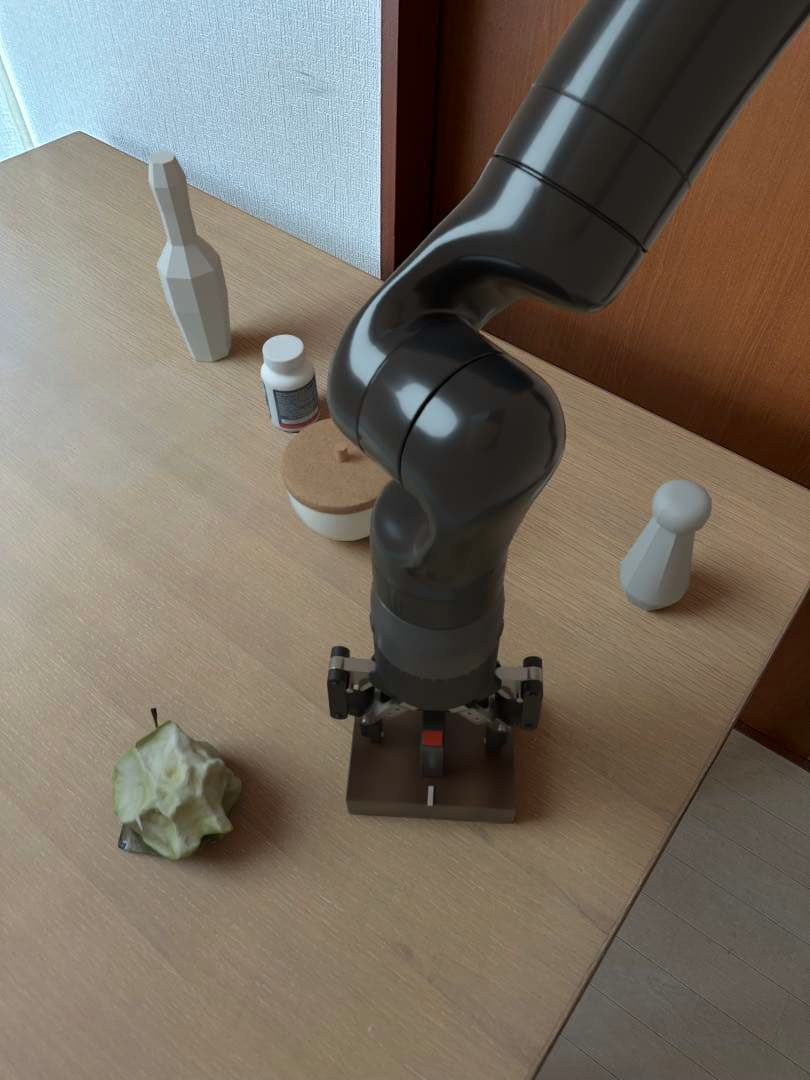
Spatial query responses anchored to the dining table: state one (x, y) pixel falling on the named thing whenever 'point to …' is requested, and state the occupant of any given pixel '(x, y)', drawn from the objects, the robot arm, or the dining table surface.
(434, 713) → the handle
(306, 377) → the pill bottle
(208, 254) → the faceted bottle
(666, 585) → the salt shaker
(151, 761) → the fruit
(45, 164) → the dining table surface
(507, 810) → the handle panel
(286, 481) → the trinket box
